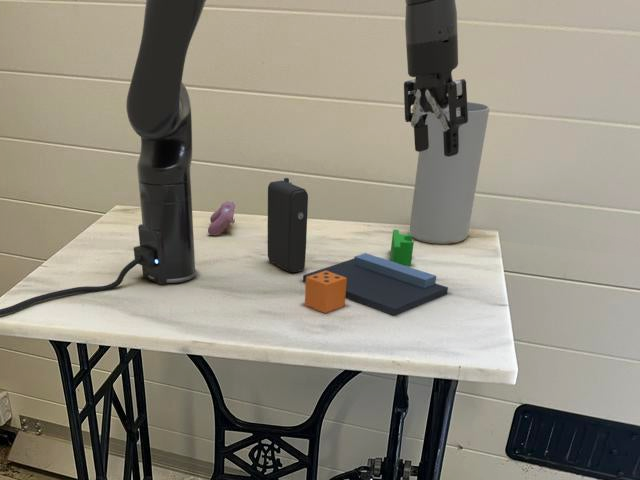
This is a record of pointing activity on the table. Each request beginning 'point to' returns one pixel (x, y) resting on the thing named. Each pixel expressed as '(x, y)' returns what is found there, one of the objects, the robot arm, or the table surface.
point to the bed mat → (385, 283)
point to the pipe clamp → (401, 248)
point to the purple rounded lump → (222, 218)
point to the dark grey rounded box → (287, 225)
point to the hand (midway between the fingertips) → (436, 153)
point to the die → (325, 291)
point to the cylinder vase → (448, 180)
